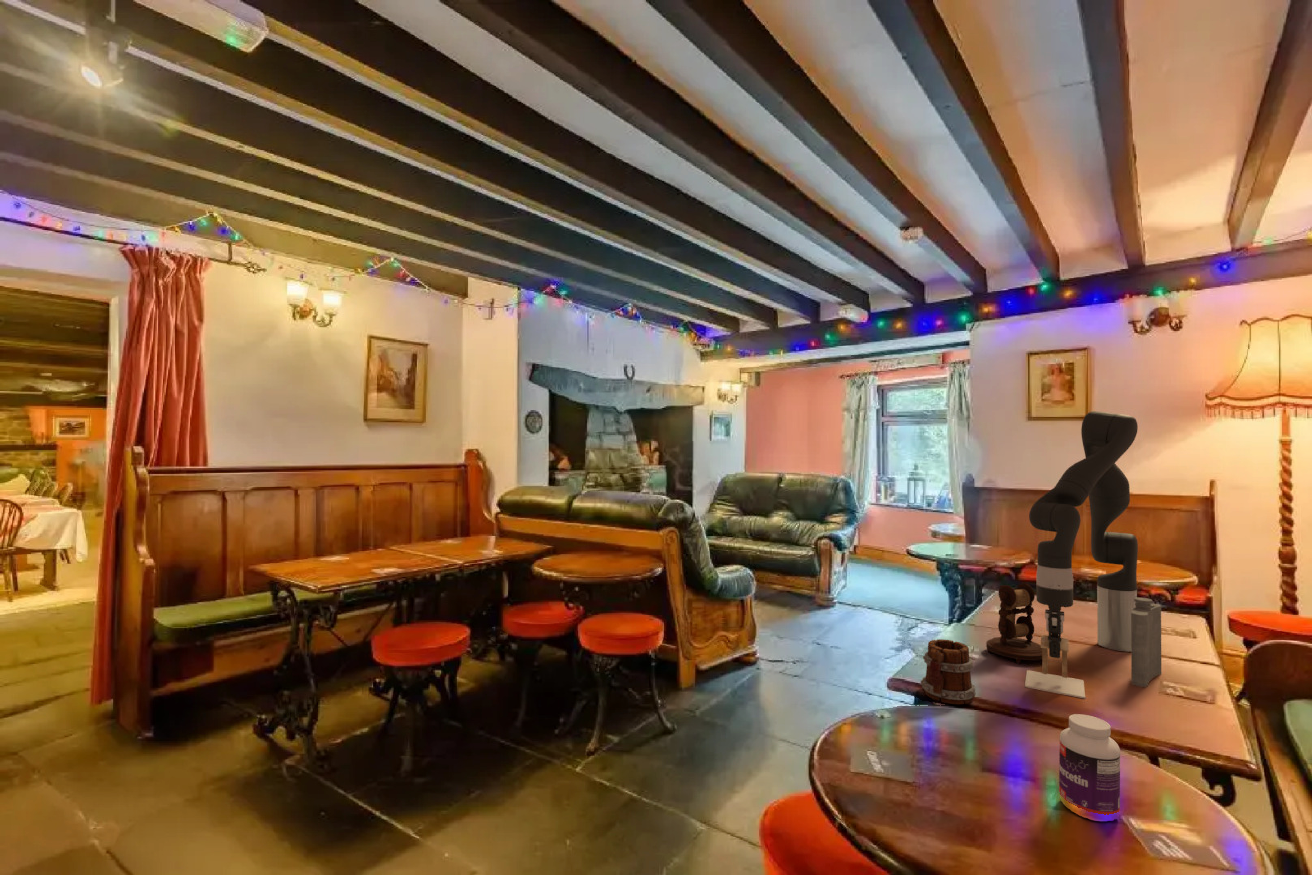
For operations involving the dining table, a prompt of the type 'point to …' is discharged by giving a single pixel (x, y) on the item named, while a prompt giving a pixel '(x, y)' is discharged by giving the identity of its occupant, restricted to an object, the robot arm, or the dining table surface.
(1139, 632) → the hip flask
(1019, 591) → the scroll
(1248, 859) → the dining table surface
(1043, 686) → the mat
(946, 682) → the mug
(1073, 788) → the pill bottle
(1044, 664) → the stool
